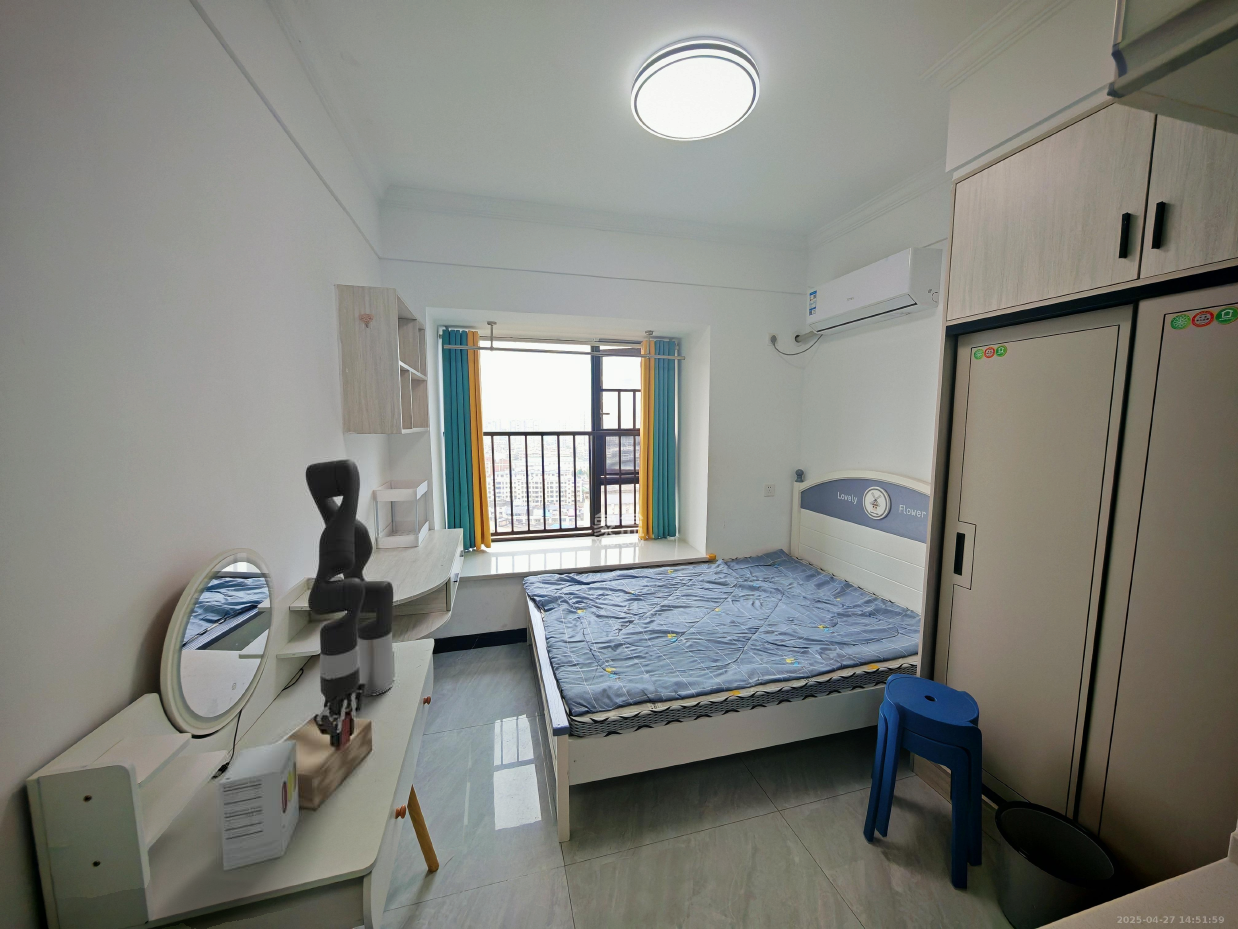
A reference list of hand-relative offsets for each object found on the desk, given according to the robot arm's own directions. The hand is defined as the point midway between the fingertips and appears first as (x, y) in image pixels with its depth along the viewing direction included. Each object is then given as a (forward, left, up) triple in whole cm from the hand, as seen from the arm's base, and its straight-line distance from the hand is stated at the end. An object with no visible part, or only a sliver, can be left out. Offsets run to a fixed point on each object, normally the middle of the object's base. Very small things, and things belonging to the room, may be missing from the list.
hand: (342, 740), depth 102 cm
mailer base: (0, -7, -9) cm, 11 cm away
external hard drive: (-12, -19, -10) cm, 25 cm away
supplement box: (+17, -4, -9) cm, 19 cm away
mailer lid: (0, -7, -2) cm, 7 cm away
